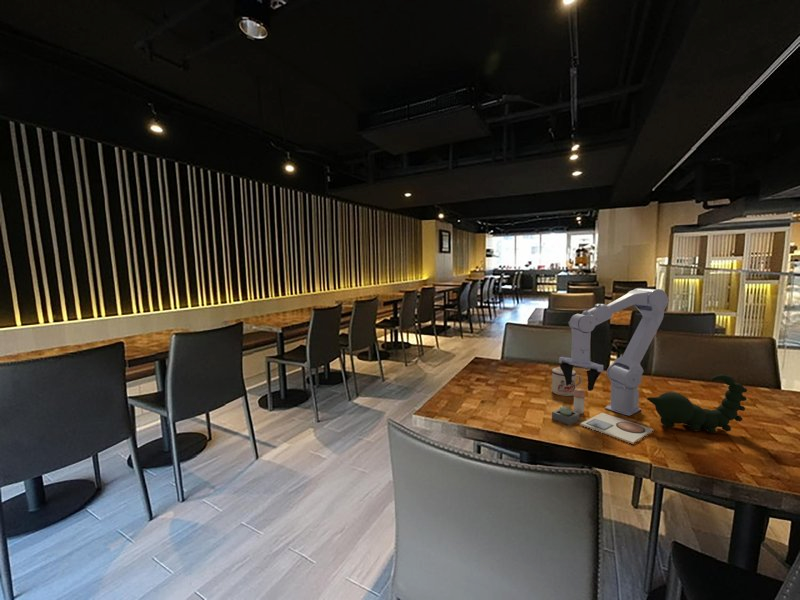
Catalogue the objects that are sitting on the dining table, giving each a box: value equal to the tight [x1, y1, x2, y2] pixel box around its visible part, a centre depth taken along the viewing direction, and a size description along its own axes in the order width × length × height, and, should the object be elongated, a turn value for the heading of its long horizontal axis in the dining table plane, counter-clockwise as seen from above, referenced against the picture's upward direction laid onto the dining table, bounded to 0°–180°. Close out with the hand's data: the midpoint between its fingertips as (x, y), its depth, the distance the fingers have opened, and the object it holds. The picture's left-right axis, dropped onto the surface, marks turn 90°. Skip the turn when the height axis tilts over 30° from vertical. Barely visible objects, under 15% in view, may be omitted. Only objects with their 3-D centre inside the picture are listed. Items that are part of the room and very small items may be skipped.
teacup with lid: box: [551, 366, 583, 397], centre depth 139 cm, size 12×9×12 cm
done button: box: [559, 405, 573, 417], centre depth 114 cm, size 4×4×2 cm
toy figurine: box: [646, 374, 748, 434], centre depth 106 cm, size 9×19×25 cm
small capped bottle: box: [573, 387, 586, 415], centre depth 120 cm, size 3×3×8 cm
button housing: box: [551, 408, 580, 426], centre depth 114 cm, size 6×6×2 cm
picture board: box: [579, 412, 654, 443], centre depth 107 cm, size 14×15×1 cm
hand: (579, 387), depth 119 cm, fingers open, 7 cm apart
